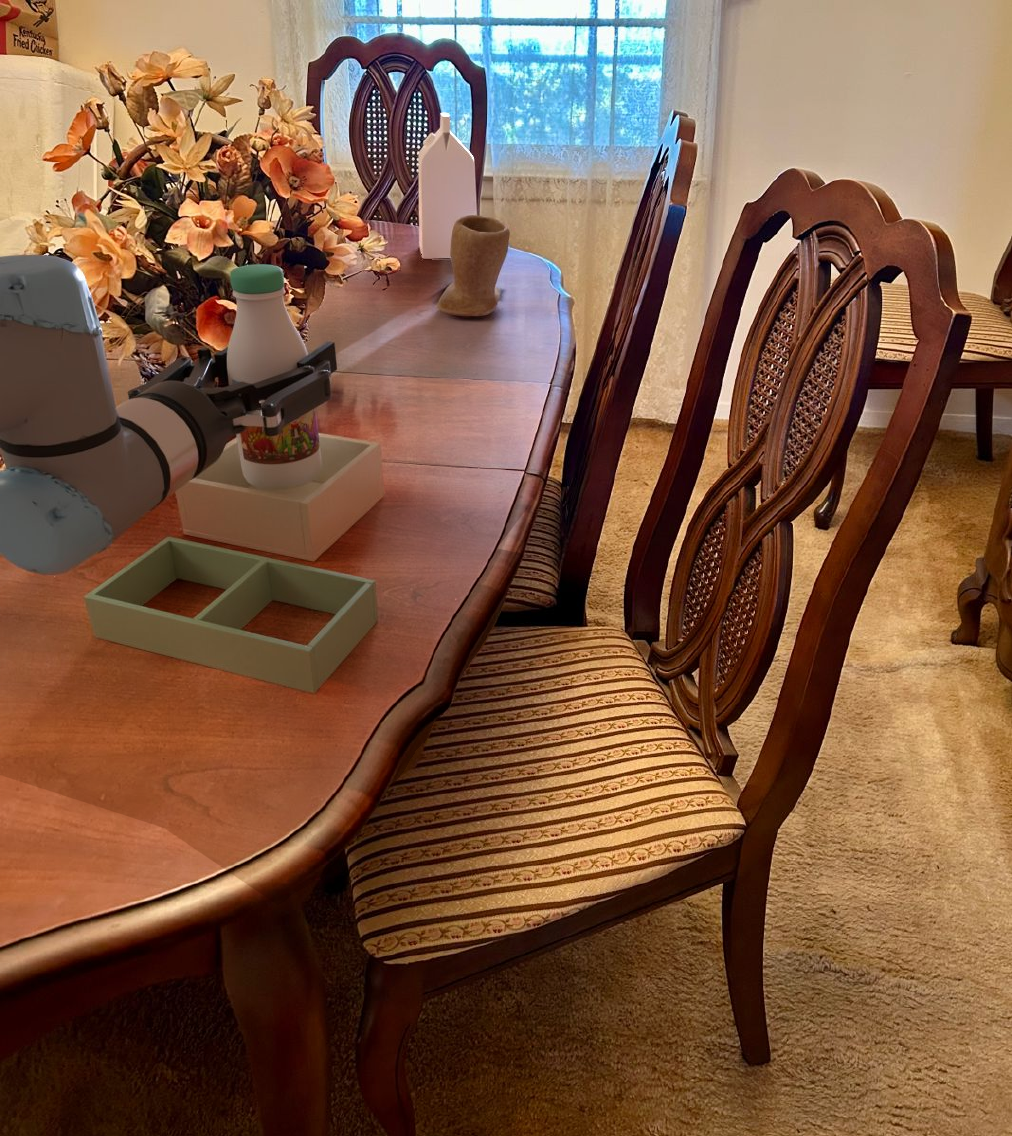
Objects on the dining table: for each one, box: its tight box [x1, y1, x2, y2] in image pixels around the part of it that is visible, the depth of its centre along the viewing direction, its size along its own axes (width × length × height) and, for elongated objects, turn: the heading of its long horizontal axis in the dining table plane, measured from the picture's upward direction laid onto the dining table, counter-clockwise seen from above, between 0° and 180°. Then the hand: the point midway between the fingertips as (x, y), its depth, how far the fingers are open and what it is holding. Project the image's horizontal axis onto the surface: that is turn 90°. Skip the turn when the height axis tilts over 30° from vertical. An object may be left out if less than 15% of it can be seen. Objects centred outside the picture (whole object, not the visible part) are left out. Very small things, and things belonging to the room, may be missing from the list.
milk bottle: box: [227, 263, 322, 489], centre depth 87 cm, size 8×8×20 cm
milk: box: [417, 112, 478, 258], centre depth 188 cm, size 12×12×26 cm
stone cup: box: [437, 214, 511, 317], centre depth 155 cm, size 15×12×15 cm
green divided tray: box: [83, 536, 379, 695], centre depth 77 cm, size 21×11×4 cm, turn 70°
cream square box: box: [174, 432, 385, 563], centre depth 93 cm, size 15×15×6 cm
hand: (292, 351), depth 91 cm, fingers closed on milk bottle, 8 cm apart
